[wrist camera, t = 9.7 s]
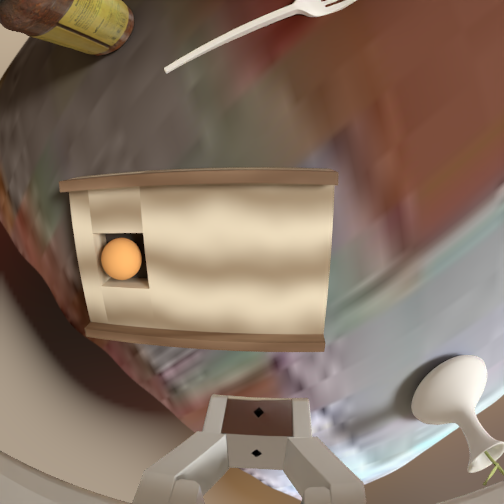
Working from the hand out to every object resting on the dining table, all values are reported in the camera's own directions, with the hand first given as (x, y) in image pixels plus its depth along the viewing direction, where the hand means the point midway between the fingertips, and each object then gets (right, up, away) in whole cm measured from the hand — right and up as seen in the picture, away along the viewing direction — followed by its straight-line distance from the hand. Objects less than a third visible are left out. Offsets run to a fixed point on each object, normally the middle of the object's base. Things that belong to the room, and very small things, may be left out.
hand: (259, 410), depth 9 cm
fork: (+1, +26, +15) cm, 30 cm away
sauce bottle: (-14, +27, +15) cm, 34 cm away
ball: (-13, +4, +20) cm, 24 cm away
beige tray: (-5, +5, +21) cm, 22 cm away
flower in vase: (+26, -13, +25) cm, 38 cm away
